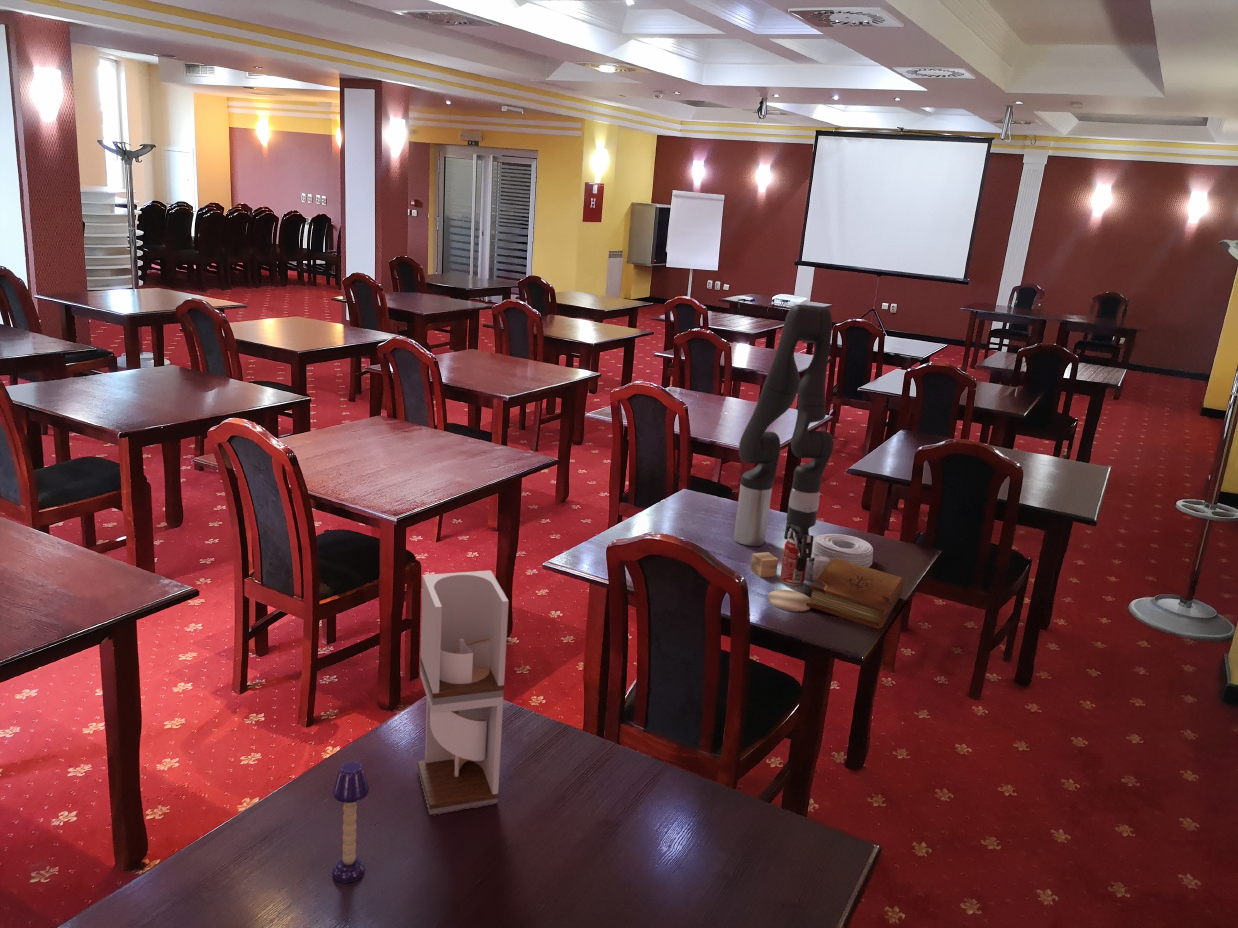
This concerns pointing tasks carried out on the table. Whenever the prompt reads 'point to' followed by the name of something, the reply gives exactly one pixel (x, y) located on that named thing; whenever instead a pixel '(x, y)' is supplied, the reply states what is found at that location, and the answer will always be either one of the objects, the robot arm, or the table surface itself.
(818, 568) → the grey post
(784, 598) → the coaster
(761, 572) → the oak block
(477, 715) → the display case
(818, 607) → the diary
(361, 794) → the toy lamp
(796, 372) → the robot arm
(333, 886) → the table surface
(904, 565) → the table surface
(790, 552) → the beverage can
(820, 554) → the cable
